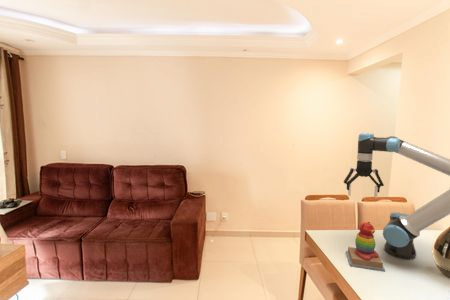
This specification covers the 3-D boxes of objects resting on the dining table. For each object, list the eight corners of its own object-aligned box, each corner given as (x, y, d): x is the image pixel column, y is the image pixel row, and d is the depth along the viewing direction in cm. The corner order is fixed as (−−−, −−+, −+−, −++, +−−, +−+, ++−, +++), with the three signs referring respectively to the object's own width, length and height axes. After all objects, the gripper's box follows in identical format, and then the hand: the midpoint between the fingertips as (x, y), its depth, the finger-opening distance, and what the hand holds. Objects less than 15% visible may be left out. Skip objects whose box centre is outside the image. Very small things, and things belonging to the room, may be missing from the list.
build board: (377, 257, 138) (377, 250, 138) (384, 271, 125) (385, 264, 124) (345, 252, 143) (346, 246, 142) (350, 266, 130) (350, 258, 129)
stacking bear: (366, 261, 127) (369, 228, 125) (349, 252, 136) (351, 221, 134) (380, 257, 131) (383, 225, 129) (363, 248, 140) (365, 218, 138)
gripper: (387, 160, 140) (384, 196, 142) (339, 158, 147) (337, 192, 150) (392, 162, 133) (389, 200, 135) (341, 160, 140) (339, 196, 143)
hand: (362, 196), depth 143 cm, fingers open, 13 cm apart
